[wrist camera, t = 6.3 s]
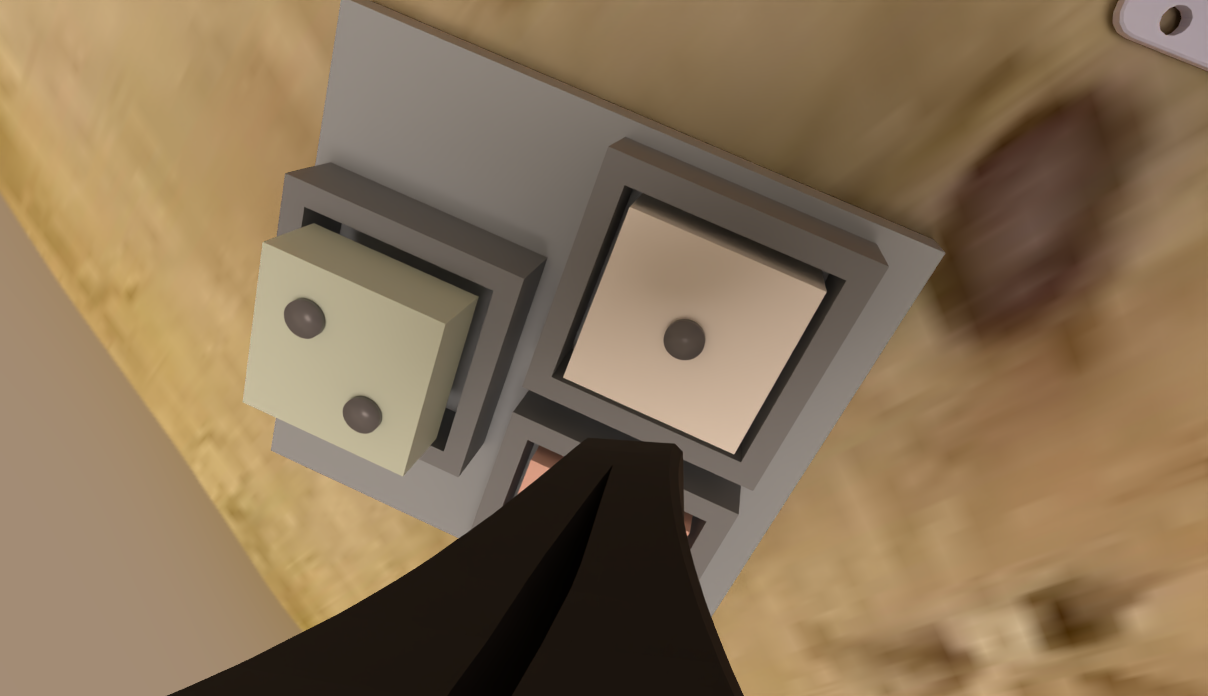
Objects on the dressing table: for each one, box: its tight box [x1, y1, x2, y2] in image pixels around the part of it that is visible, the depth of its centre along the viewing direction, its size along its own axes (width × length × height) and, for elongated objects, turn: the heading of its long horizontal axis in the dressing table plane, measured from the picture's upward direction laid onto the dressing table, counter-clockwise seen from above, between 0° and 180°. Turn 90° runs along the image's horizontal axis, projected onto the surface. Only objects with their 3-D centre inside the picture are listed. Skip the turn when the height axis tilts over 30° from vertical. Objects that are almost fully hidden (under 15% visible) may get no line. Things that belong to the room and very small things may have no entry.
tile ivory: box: [563, 193, 827, 454], centre depth 15 cm, size 4×4×2 cm
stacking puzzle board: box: [271, 0, 945, 617], centre depth 18 cm, size 15×14×3 cm
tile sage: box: [243, 223, 479, 476], centre depth 16 cm, size 4×4×2 cm
